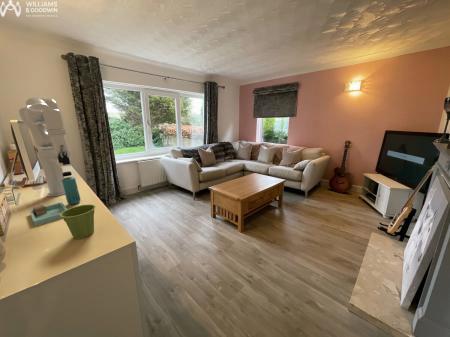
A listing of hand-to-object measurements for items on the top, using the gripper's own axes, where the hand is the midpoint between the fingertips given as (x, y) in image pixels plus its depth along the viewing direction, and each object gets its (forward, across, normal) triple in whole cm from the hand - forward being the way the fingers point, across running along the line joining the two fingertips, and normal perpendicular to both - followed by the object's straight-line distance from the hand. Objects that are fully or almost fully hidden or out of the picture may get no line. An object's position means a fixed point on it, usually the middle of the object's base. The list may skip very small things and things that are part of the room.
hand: (64, 163), depth 107 cm
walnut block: (+24, +1, -15) cm, 29 cm away
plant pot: (+26, +43, -6) cm, 50 cm away
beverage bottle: (+25, -1, 0) cm, 25 cm away
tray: (+25, +7, -12) cm, 29 cm away
